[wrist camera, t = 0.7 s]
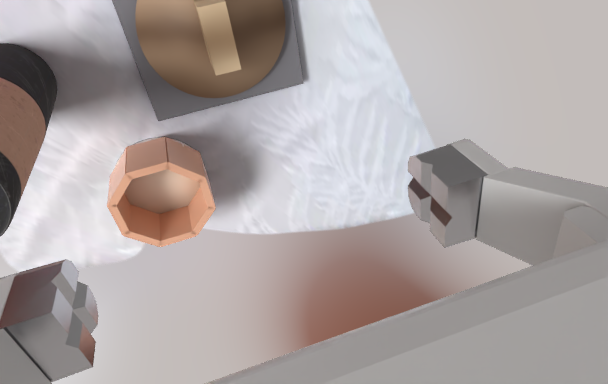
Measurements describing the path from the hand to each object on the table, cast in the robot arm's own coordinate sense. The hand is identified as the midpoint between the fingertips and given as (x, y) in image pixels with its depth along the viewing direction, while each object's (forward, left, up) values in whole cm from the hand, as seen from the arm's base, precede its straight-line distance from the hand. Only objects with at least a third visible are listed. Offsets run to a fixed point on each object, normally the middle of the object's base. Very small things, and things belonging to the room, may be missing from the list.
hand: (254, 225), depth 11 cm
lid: (+5, +3, -37) cm, 37 cm away
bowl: (+20, -7, -37) cm, 43 cm away
